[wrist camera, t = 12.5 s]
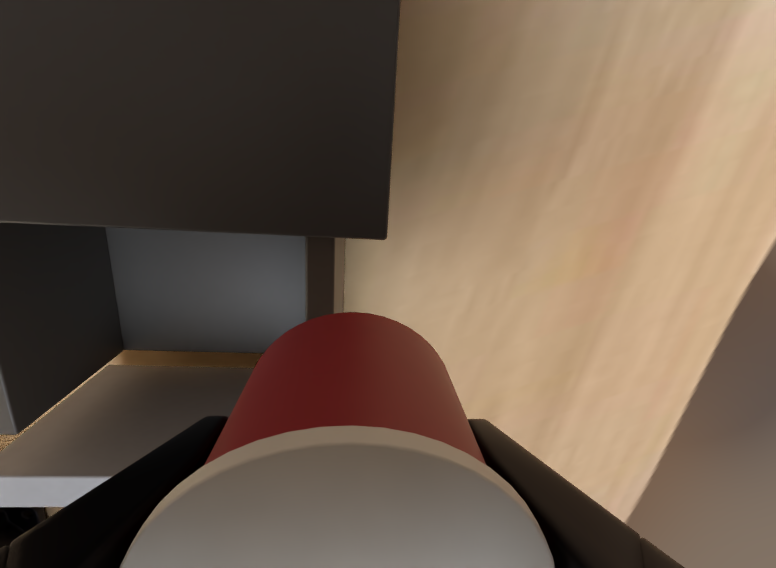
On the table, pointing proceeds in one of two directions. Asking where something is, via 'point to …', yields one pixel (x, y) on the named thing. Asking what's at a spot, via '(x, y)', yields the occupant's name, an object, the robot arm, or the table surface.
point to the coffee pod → (344, 467)
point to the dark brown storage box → (199, 115)
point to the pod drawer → (135, 339)
